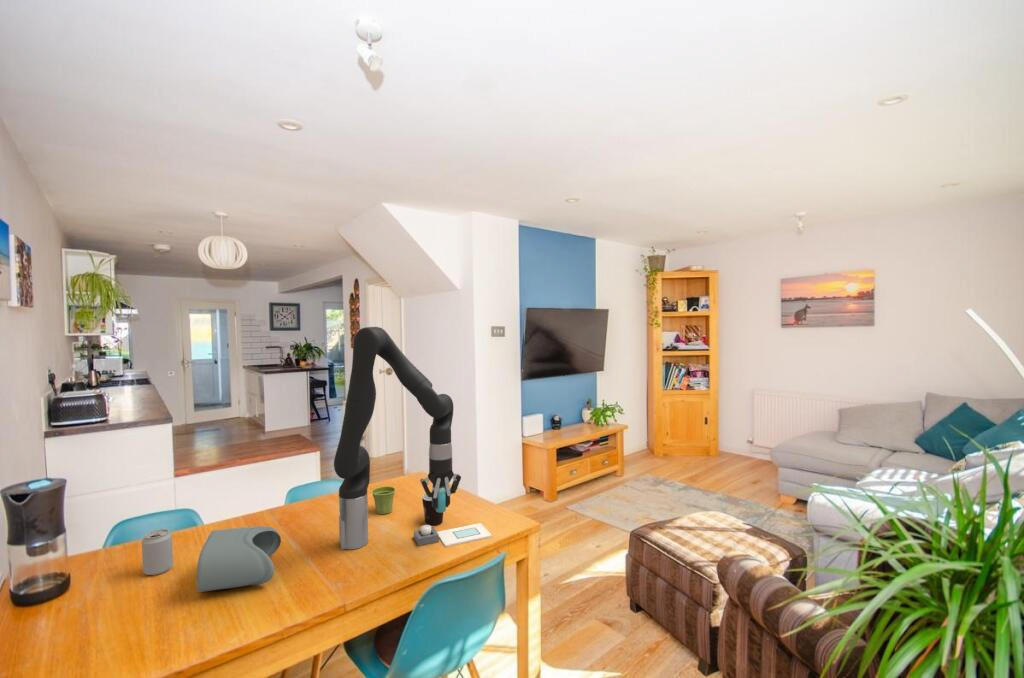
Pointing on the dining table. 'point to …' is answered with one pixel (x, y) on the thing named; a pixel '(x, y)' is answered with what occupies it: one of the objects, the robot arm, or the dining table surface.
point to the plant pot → (383, 499)
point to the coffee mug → (431, 512)
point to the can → (157, 552)
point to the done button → (425, 530)
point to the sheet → (463, 534)
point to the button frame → (426, 537)
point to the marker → (441, 499)
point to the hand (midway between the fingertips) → (441, 507)
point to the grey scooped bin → (237, 558)
